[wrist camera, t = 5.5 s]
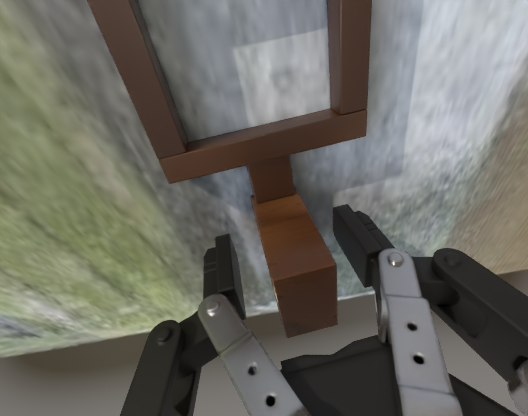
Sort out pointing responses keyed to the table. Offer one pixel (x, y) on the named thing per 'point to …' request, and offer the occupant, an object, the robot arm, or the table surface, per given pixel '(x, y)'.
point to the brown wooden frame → (258, 150)
